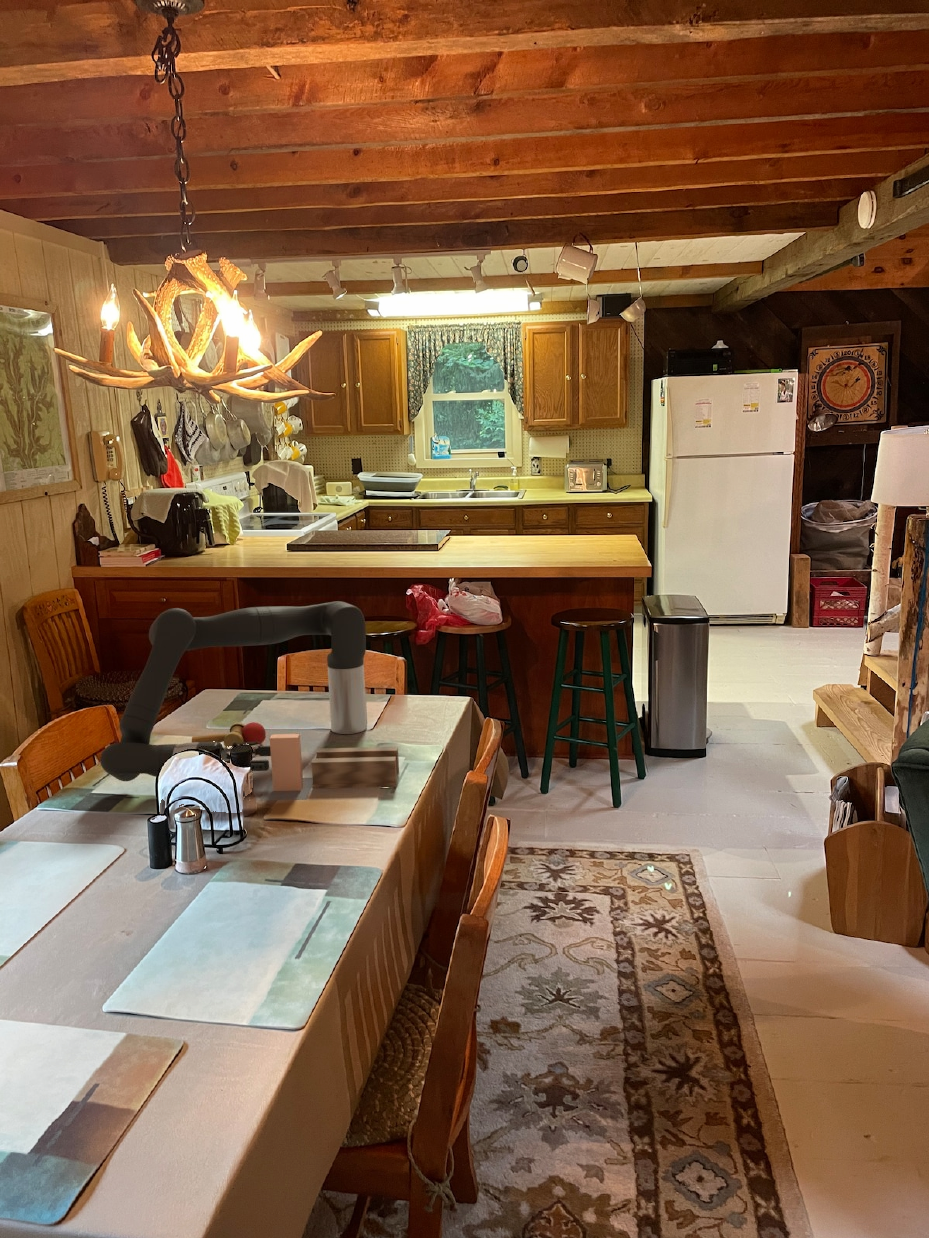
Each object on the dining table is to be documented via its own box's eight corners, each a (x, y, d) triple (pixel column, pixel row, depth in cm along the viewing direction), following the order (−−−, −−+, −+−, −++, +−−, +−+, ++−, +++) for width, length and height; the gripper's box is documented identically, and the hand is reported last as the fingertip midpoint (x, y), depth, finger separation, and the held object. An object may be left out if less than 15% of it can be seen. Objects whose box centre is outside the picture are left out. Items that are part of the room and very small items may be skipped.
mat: (259, 802, 191) (259, 800, 191) (271, 780, 203) (271, 778, 202) (306, 800, 191) (306, 799, 191) (316, 778, 202) (316, 777, 202)
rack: (313, 789, 196) (311, 762, 195) (319, 774, 205) (318, 748, 204) (396, 787, 196) (394, 760, 195) (399, 772, 205) (398, 746, 204)
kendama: (190, 759, 221) (263, 747, 221) (186, 733, 221) (259, 721, 220) (200, 753, 228) (270, 741, 228) (195, 728, 228) (266, 717, 228)
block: (273, 790, 195) (269, 738, 193) (275, 786, 198) (272, 734, 195) (301, 790, 195) (297, 737, 193) (303, 785, 198) (299, 733, 195)
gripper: (186, 755, 188) (264, 753, 187) (206, 732, 202) (278, 730, 201) (190, 789, 189) (267, 787, 189) (209, 763, 203) (281, 761, 203)
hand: (273, 757), depth 195 cm, fingers open, 8 cm apart
